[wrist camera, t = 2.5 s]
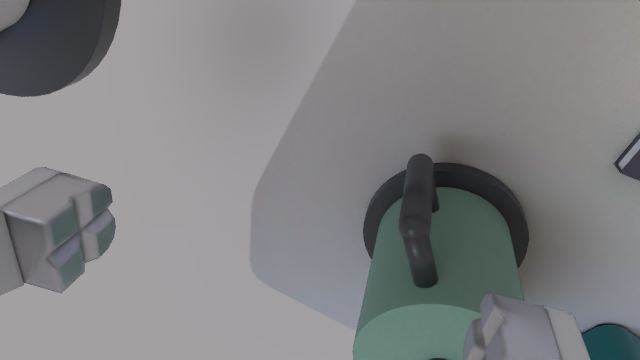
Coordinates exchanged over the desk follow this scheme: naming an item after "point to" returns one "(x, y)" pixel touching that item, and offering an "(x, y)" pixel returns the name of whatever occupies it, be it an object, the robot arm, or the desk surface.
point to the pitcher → (611, 343)
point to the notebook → (630, 160)
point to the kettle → (432, 271)
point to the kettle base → (459, 179)
